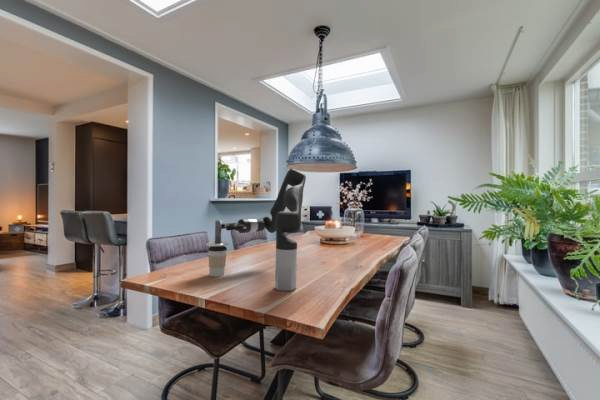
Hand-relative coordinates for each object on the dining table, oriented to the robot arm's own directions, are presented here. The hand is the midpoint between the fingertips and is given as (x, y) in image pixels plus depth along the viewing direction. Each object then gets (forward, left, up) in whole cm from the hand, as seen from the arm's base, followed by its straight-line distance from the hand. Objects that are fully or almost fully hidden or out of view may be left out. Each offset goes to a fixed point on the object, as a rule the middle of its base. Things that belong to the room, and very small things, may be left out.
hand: (221, 227), depth 146 cm
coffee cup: (-2, +1, -24) cm, 24 cm away
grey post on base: (-2, +1, -8) cm, 9 cm away
